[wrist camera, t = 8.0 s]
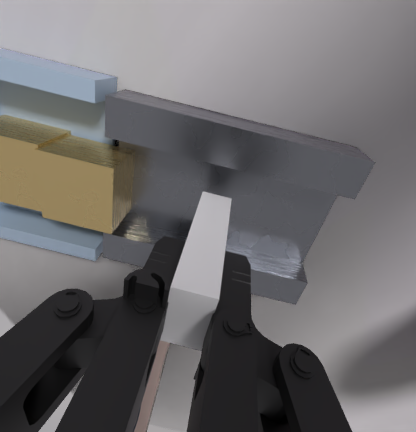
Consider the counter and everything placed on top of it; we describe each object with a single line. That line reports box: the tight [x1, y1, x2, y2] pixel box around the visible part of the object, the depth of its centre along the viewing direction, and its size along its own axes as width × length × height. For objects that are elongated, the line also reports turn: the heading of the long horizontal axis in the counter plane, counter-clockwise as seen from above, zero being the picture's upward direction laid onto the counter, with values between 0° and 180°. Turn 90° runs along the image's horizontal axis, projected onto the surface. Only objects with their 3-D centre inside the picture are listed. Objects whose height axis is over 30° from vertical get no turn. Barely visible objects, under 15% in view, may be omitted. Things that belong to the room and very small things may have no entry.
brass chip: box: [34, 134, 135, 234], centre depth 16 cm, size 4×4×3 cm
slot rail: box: [103, 89, 375, 305], centre depth 16 cm, size 10×13×2 cm
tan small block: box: [0, 115, 71, 212], centre depth 16 cm, size 4×4×3 cm
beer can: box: [133, 340, 170, 432], centre depth 20 cm, size 5×5×12 cm
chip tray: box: [0, 48, 117, 261], centre depth 16 cm, size 11×10×2 cm
